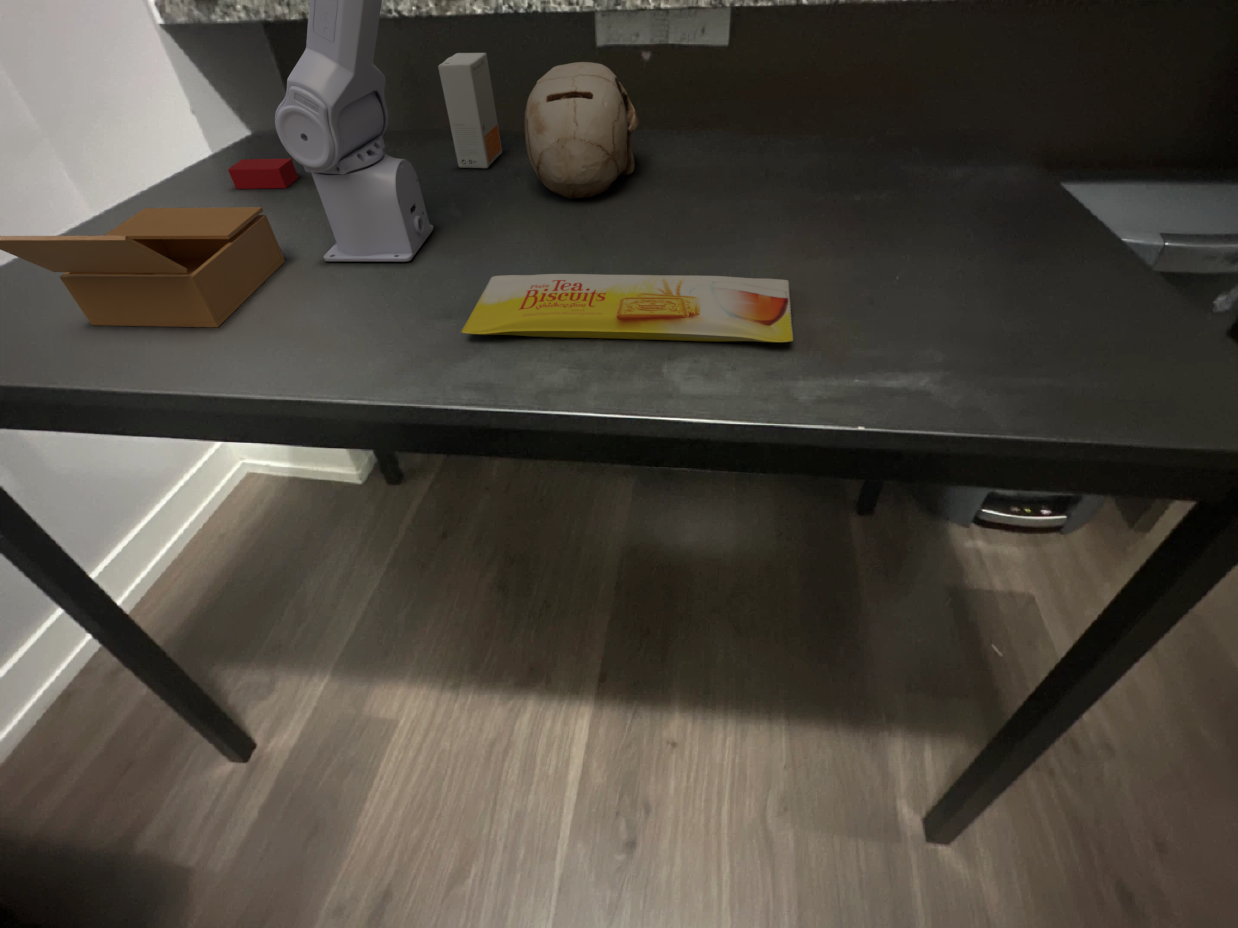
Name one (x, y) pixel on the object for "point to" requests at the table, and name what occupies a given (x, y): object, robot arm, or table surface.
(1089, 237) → the table surface
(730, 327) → the food package
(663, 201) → the table surface
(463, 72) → the cosmetic box
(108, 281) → the carton
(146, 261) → the flap
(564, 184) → the coin bank
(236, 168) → the red block
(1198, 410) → the table surface
